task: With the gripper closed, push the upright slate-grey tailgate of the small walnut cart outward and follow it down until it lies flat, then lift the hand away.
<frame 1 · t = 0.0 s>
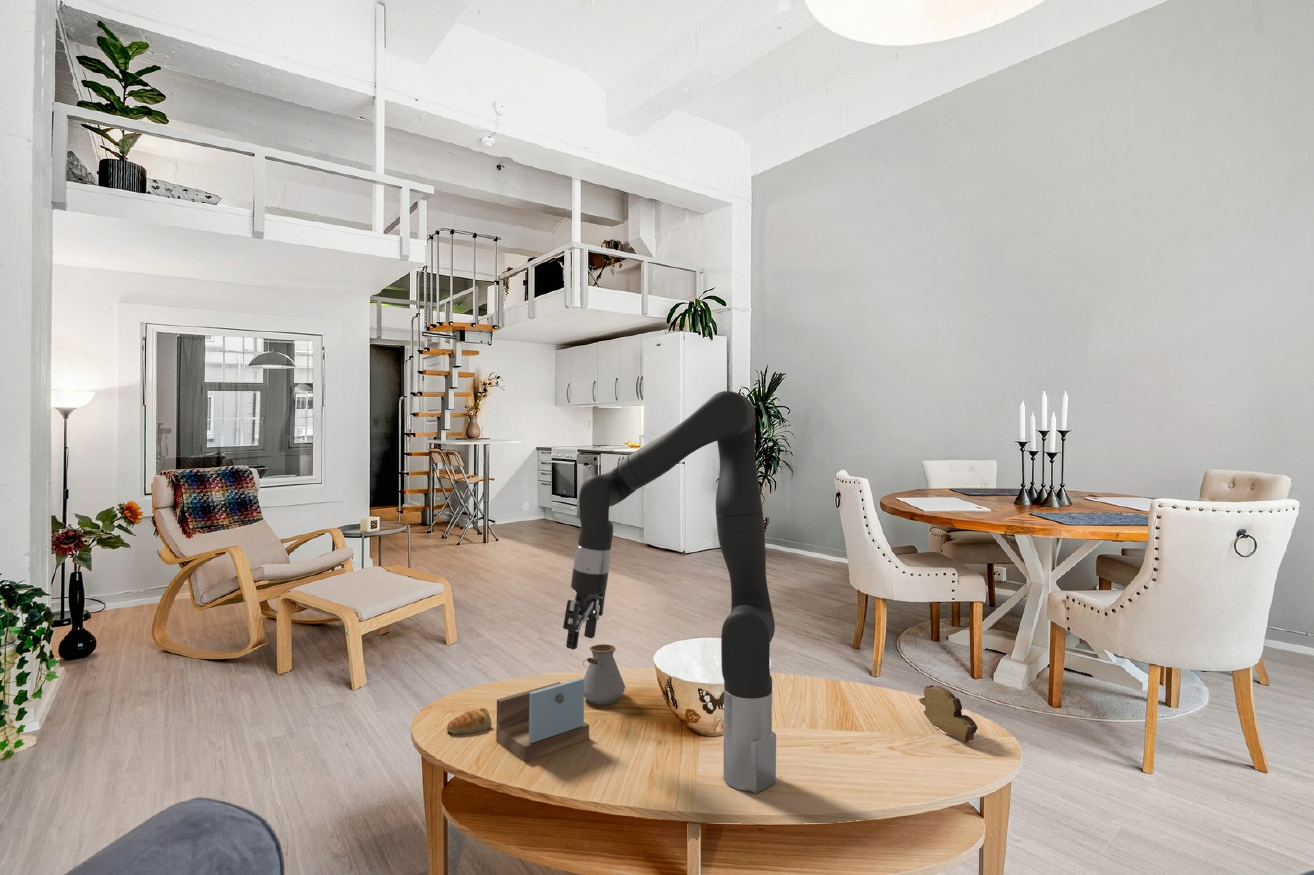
hand: (580, 642, 136), 22 cm above the table, tool pointing down, fingers open, 8 cm apart
tailgate: (558, 710, 135), point 8 cm above the table, hinge at 0.0°
wooden carving: (946, 733, 145), on the table
coffee pot: (597, 707, 158), on the table
cart bed: (542, 740, 140), on the table
pastry: (471, 729, 145), on the table
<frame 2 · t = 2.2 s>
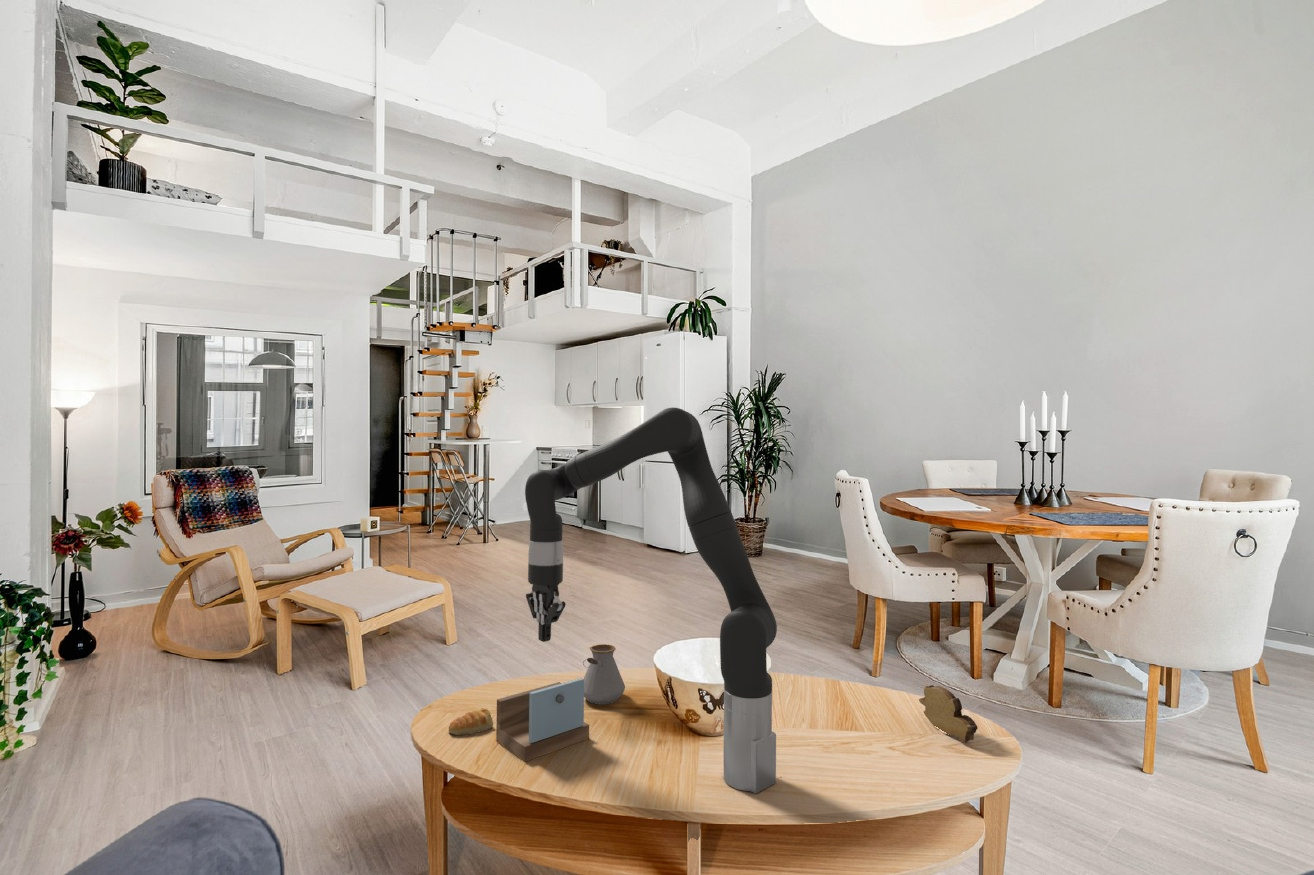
hand: (544, 640, 140), 22 cm above the table, tool pointing down, fingers closed
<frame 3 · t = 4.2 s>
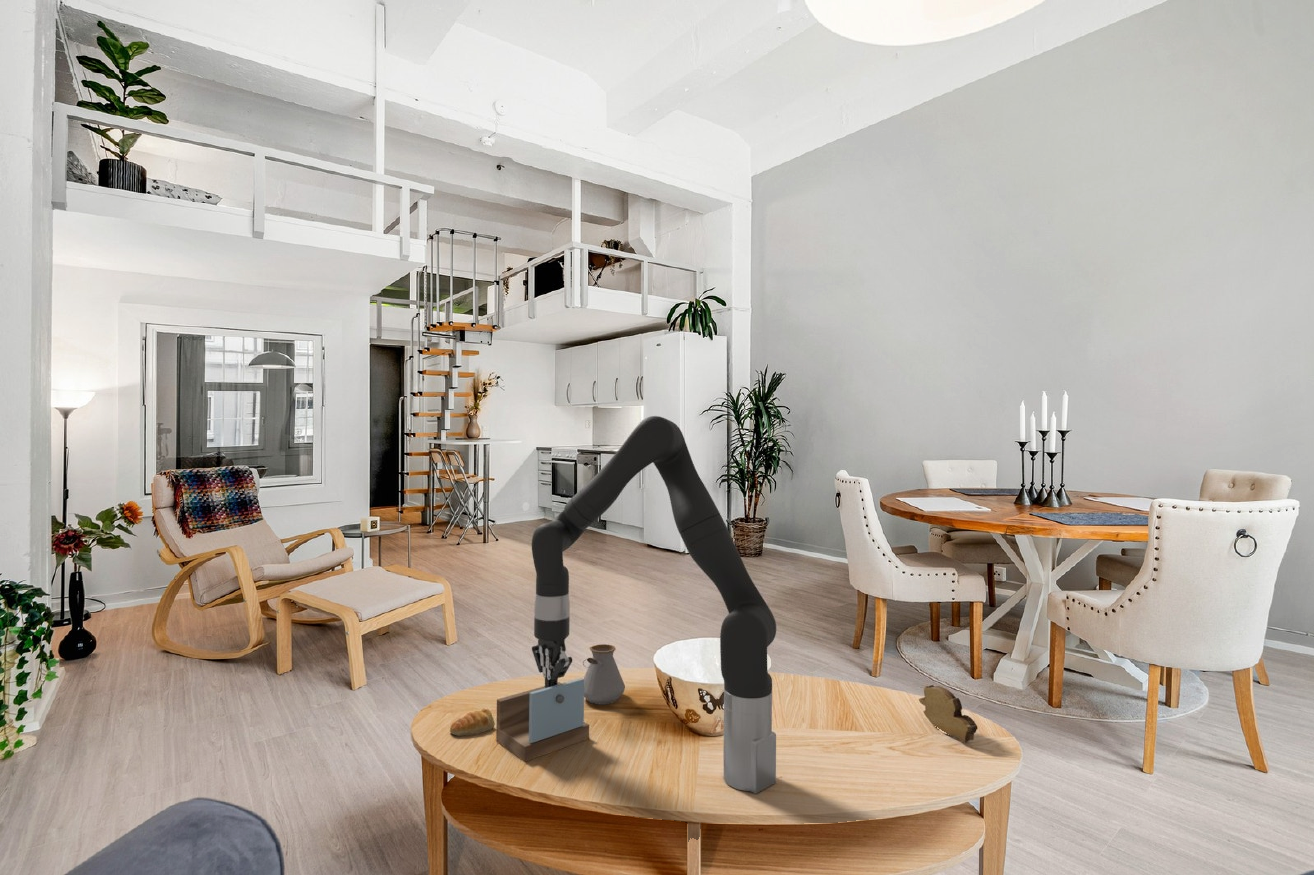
hand: (550, 695, 138), 10 cm above the table, tool pointing down, fingers closed
tailgate: (558, 710, 135), point 8 cm above the table, hinge at 0.1°, touching gripper
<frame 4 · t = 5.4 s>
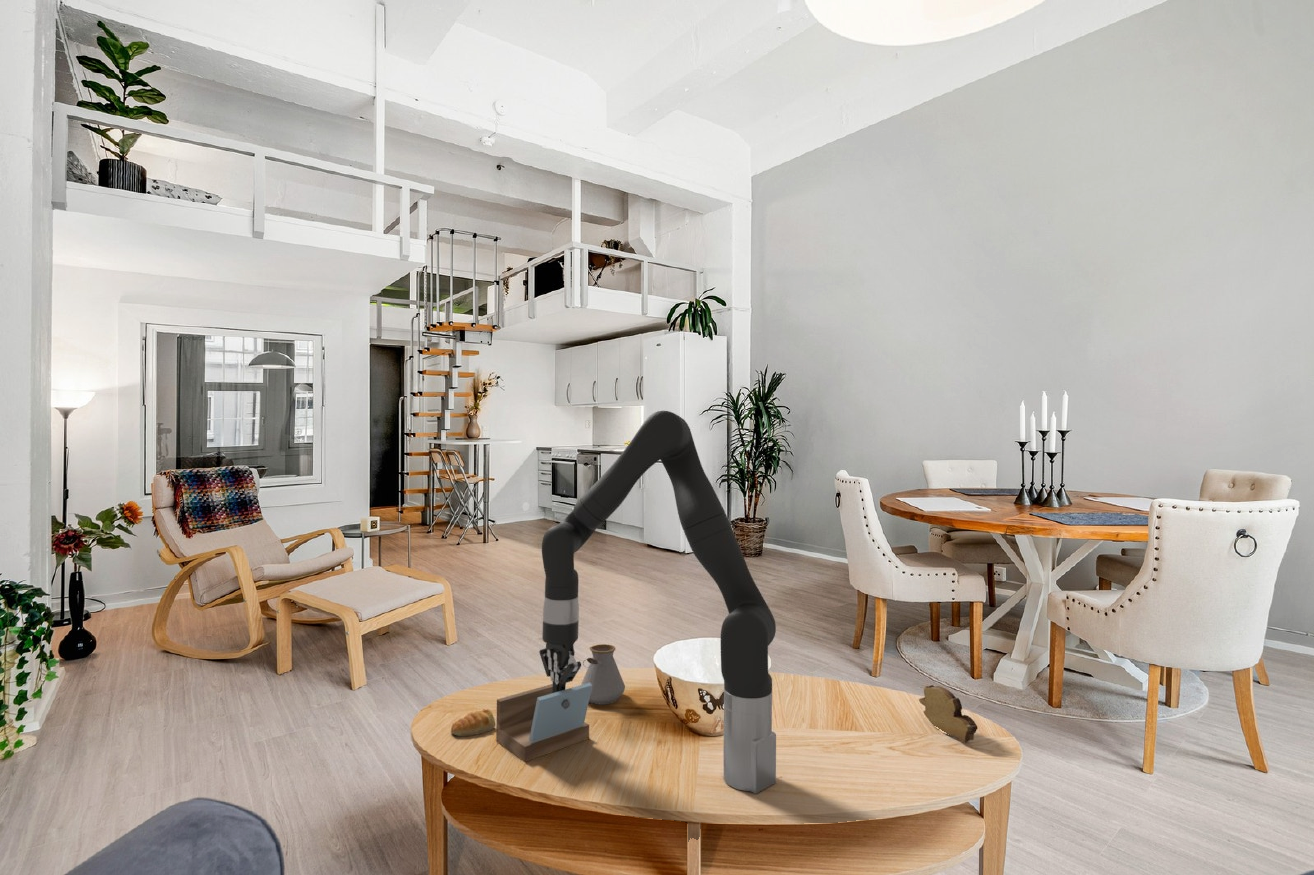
hand: (558, 699, 136), 10 cm above the table, tool pointing down, fingers closed
tailgate: (562, 713, 134), point 8 cm above the table, hinge at 17.4°, touching gripper
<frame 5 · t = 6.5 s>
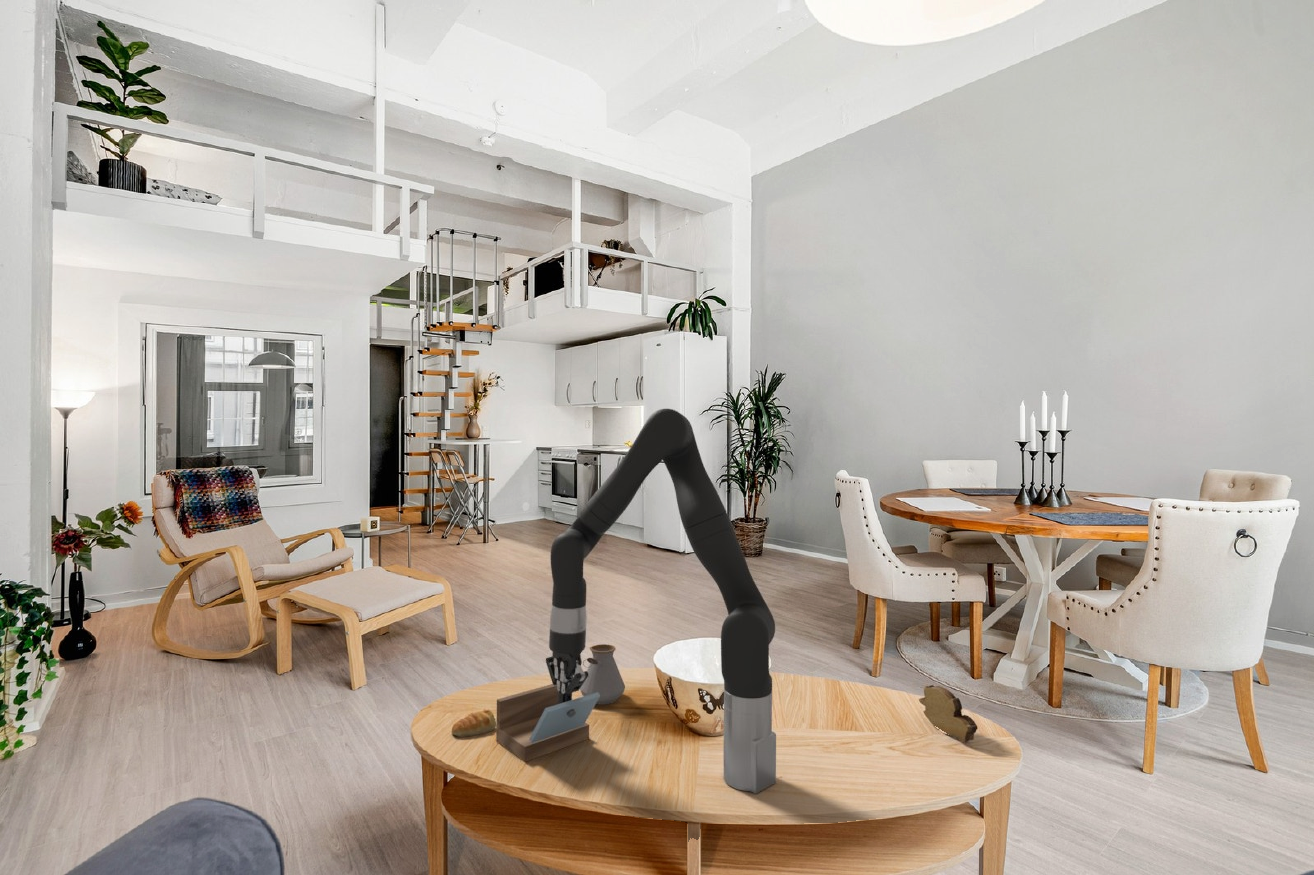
hand: (564, 709, 134), 9 cm above the table, tool pointing down, fingers closed
tailgate: (566, 718, 133), point 7 cm above the table, hinge at 36.1°, touching gripper
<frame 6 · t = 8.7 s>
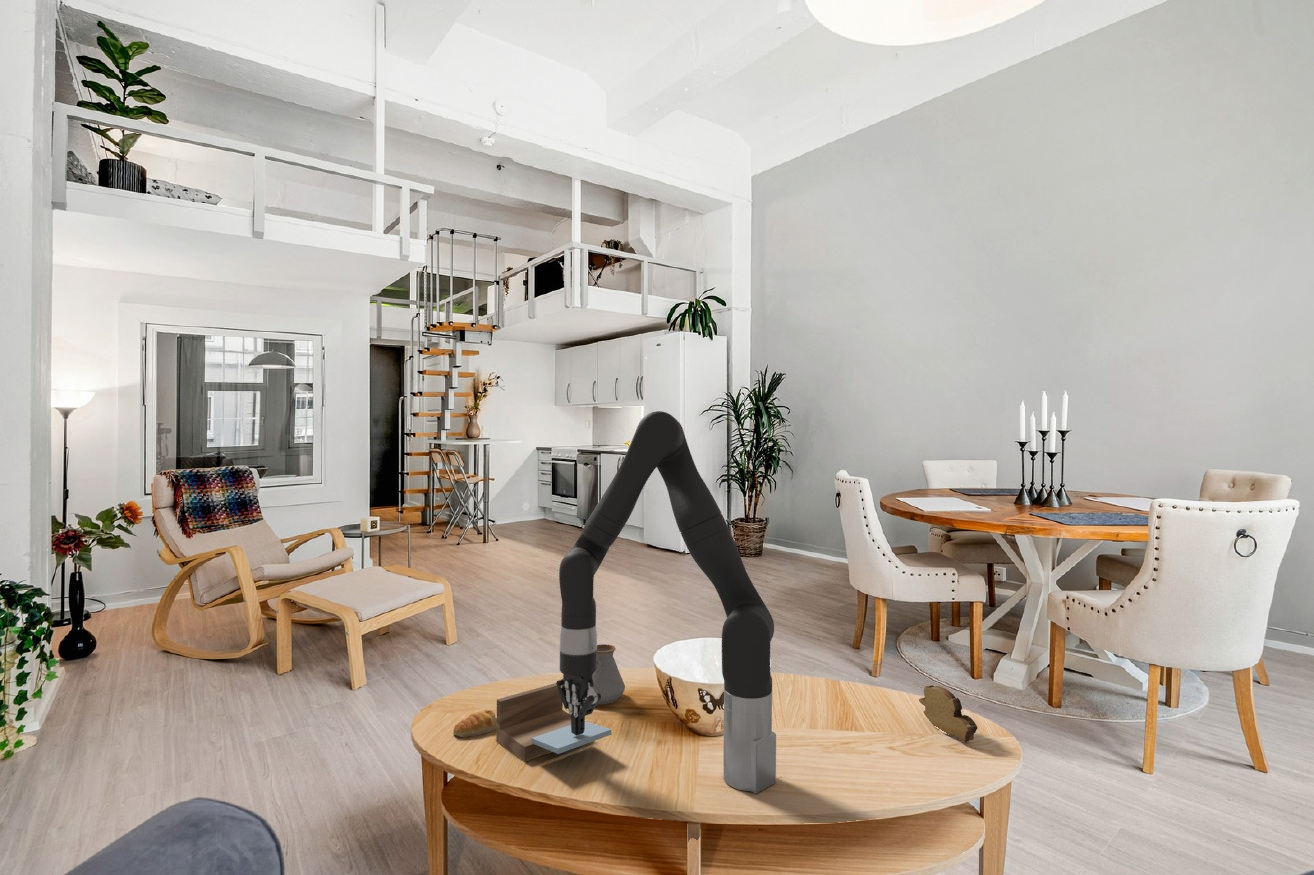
hand: (577, 733, 130), 6 cm above the table, tool pointing down, fingers closed
tailgate: (571, 738, 132), point 4 cm above the table, hinge at 82.1°
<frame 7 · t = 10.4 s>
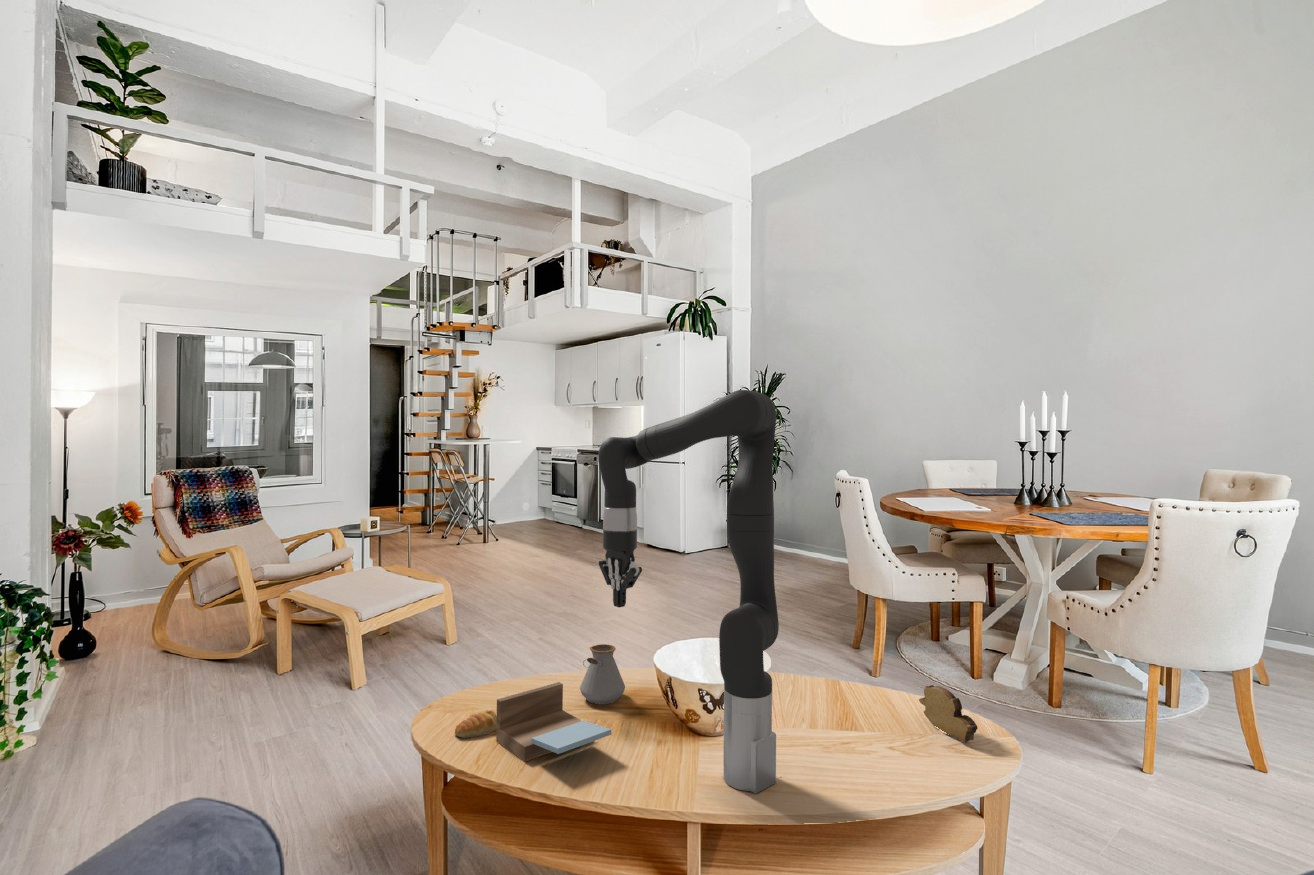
hand: (619, 606, 141), 29 cm above the table, tool pointing down, fingers closed
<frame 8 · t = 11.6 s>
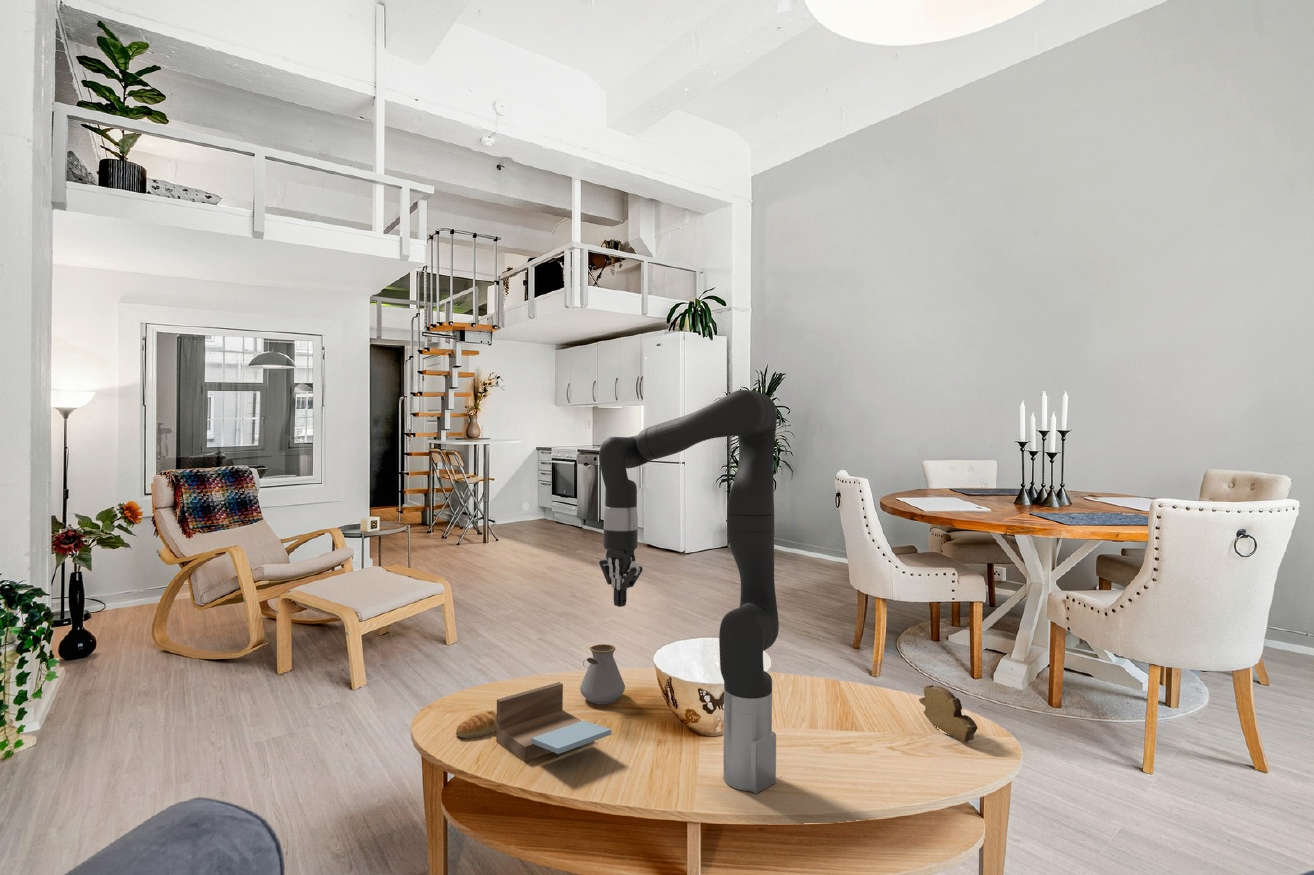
hand: (619, 605, 141), 29 cm above the table, tool pointing down, fingers closed
at the end: tailgate at +82° (first picture: +0°); coffee pot moved 0.3 cm from its start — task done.
